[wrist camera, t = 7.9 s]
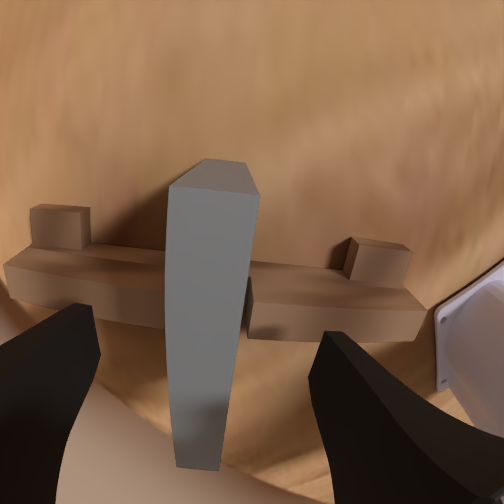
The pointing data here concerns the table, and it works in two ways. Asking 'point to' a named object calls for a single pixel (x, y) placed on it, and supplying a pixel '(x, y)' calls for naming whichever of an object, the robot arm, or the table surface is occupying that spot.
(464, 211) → the table surface
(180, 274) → the grey long rectangular block
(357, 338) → the walnut slotted stand
